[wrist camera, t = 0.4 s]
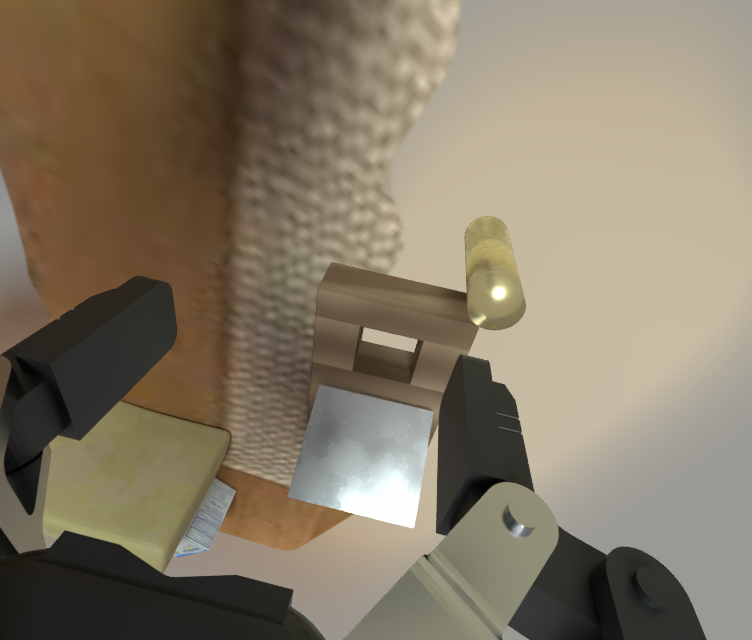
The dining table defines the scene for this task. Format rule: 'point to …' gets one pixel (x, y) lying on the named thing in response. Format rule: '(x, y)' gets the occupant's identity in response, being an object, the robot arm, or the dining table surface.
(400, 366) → the walnut block
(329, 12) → the dining table surface
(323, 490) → the steel flap
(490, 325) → the brass peg
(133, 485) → the cheese
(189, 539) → the medicine box
